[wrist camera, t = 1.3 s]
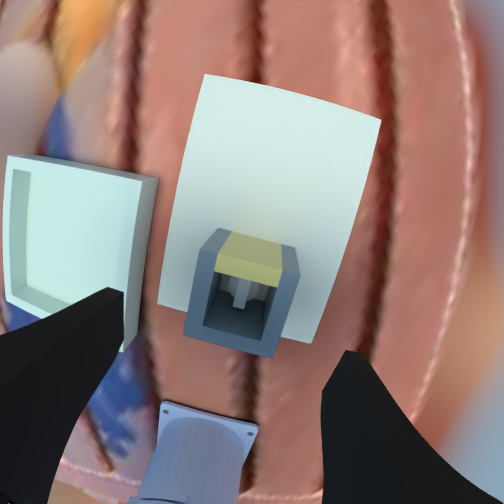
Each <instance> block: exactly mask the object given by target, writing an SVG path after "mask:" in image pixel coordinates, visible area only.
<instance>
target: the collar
mask: <svg viewBox="0 0 504 504" xmlns="http://www.w3.org/2000/svg"><path fill="white" fill-rule="evenodd" d="M222 273H223V274H227V275H231V276H235V277H238V278H242V279H246V280H250V281H254V282H258V283H262V284H265V285H269V288H268V291H267V295H266V298H265V301H261V300H257V299H251V300H248V301H246V303H245V307H244V309H241V308H237V307H233V303H234V299H235V298H234V297H233V296H232V295H231V293H230V292H227V291H223V290H219V285H220V280H221V276H222ZM300 276H301V274H300V269H299V264H298V260H297V255H296V250H295V248H294V247H291V246H287V245H283V244H279V243H275V242H272V241H268V240H264V239H260V238H256V237H253V236H249V235H245V234H241V233H237V232H233V231H229V230H225V229H222V228H217V230H216V231H215V232H214V233H213V234H212V235H211V236H210V238H209V239H208V240H207V241H206V242H205V243H204V244H203V246H202V247H201V248H200V250H199V254H198V259H197V264H196V269H195V274H194V279H193V285H192V290H191V295H190V300H189V306H188V311H187V317H186V322H185V328H184V334H183V335H185V336H188V337H191V338H195V339H198V340H202V341H206V342H209V343H213V344H216V345H220V346H224V347H228V348H232V349H235V350H239V351H243V352H247V353H252V354H256V355H260V356H264V357H268V358H273V357H274V354H275V351H276V348H277V345H278V342H279V339H280V337H281V334H282V331H283V328H284V325H285V322H286V319H287V316H288V313H289V310H290V307H291V304H292V301H293V298H294V295H295V292H296V289H297V285H298V282H299V279H300Z"/></svg>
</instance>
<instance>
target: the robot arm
mask: <svg viewBox="0 0 504 504" xmlns="http://www.w3.org/2000/svg"><path fill="white" fill-rule="evenodd" d="M123 341H124V292H122V291H119V290H116V289H113V288H110V287H106V288H104V289H102V290H99V291H97V292H95V293H93V294H91V295H89V296H88V297H86V298H84V299H82V300H80V301H78V302H76V303H74V304H72V305H70V306H68V307H66V308H64V309H62V310H60V311H58V312H56V313H54V314H52V315H49V316H47V317H45V318H43V319H41V320H38V321H36V322H34V323H32V324H30V325H27V326H25V327H22V328H19V329H17V330H14V331H11V332H8V333H5V334H2V335H0V504H8V503H9V504H47V502H48V498H49V494H50V490H51V486H52V483H53V480H54V477H55V474H56V471H57V468H58V465H59V462H60V459H61V457H62V454H63V452H64V449H65V447H66V444H67V442H68V439H69V437H70V435H71V433H72V430H73V428H74V426H75V424H76V422H77V420H78V418H79V416H80V414H81V412H82V411H83V409H84V407H85V406H86V404H87V403H88V401H89V400H90V398H91V396H92V395H93V393H94V392H95V390H96V389H97V387H98V385H99V384H100V382H101V381H102V379H103V378H104V376H105V375H106V373H107V372H108V370H109V368H110V367H111V365H112V364H113V362H114V360H115V358H116V356H117V354H118V352H119V349H120V347H121V345H122V343H123ZM166 410H167V411H166ZM250 432H252V433H250ZM257 433H258V426H257V425H256V424H253V423H248V422H244V421H239V420H235V419H231V418H226V417H222V416H218V415H214V414H211V413H207V412H203V411H199V410H196V409H192V408H189V407H185V406H182V405H179V404H175V403H172V402H169V401H163V402H162V403H161V406H160V415H159V426H158V437H157V446H156V448H155V451H154V453H153V456H152V458H151V461H150V463H149V466H148V468H147V471H146V473H145V476H144V478H143V481H142V483H141V486H140V488H139V491H138V493H137V496H136V498H134V497H130V498H129V501H128V503H127V504H237V501H238V494H239V486H240V479H241V471H242V466H243V464H244V462H245V460H246V457H247V455H248V453H249V451H250V449H251V446H252V444H253V442H254V439H255V437H256V435H257ZM321 435H322V452H323V471H324V486H323V497H322V504H503V503H502V502H501V501H499V500H497V499H496V498H494V497H492V496H491V495H489V494H487V493H486V492H484V491H482V490H481V489H479V488H478V487H477V486H475V485H474V484H472V483H471V482H470V481H468V480H467V479H466V478H464V477H463V476H462V475H461V474H460V473H458V472H457V471H456V470H455V469H454V468H453V467H451V466H450V465H449V464H448V463H447V462H446V461H445V460H444V459H443V458H442V457H441V456H439V454H437V452H436V451H435V450H434V449H433V448H432V447H431V446H430V445H429V444H428V442H427V441H426V440H425V439H424V438H423V437H422V436H421V435H420V433H418V431H417V430H416V429H415V427H414V426H413V425H412V423H411V422H410V421H409V419H408V418H407V417H406V416H405V414H404V413H403V412H402V410H401V409H400V407H399V406H398V405H397V403H396V402H395V400H394V399H393V397H392V396H391V394H390V393H389V391H388V390H387V388H386V387H385V385H384V384H383V382H382V381H381V379H380V378H379V376H378V375H377V373H376V372H375V370H374V369H373V367H372V366H371V364H370V363H369V361H368V360H367V359H366V357H365V356H364V354H363V353H359V352H353V351H348V350H345V352H344V354H343V356H342V357H341V359H340V361H339V363H338V365H337V366H336V368H335V370H334V372H333V373H332V375H331V377H330V379H329V380H328V382H327V384H326V385H325V387H324V389H323V390H322V401H321Z"/></svg>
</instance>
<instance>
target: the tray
mask: <svg viewBox="0 0 504 504" xmlns="http://www.w3.org/2000/svg"><path fill="white" fill-rule="evenodd" d="M158 183H159V178H154V177H150V176H145V175H140V174H136V173H131V172H126V171H121V170H116V169H111V168H106V167H101V166H95V165H90V164H85V163H79V162H74V161H68V160H63V159H57V158H51V157H45V156H39V155H33V154H26V155H10V156H8V158H7V167H6V177H5V188H4V205H3V265H4V281H5V293H6V301H8V302H10V303H12V304H14V305H16V306H17V307H19V308H21V309H23V310H25V311H27V312H29V313H31V314H33V315H35V316H37V317H40V318H42V319H43V318H45V317H47V316H49V315H52V314H54V313H56V312H58V311H60V310H62V309H64V308H66V307H68V306H70V305H72V304H74V303H76V302H78V301H80V300H82V299H84V298H86V297H88V296H89V295H91V294H93V293H95V292H97V291H99V290H102V289H104V288H106V287H110V288H113V289H116V290H119V291H122V292H124V341H123V343H122V345H121V347H120V349H119V351H120V352H122V353H123V352H124V351H125V349H126V348H127V347H128V345H129V344H130V343H131V341H132V340H133V339H134V338H135V336H136V335H137V333H138V321H139V311H140V301H141V292H142V283H143V275H144V267H145V260H146V253H147V246H148V240H149V233H150V227H151V221H152V215H153V209H154V204H155V198H156V193H157V188H158Z"/></svg>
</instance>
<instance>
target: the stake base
mask: <svg viewBox="0 0 504 504" xmlns="http://www.w3.org/2000/svg"><path fill="white" fill-rule="evenodd" d="M380 123H381V120H380V119H377V118H374V117H372V116H369V115H366V114H363V113H360V112H358V111H355V110H352V109H349V108H346V107H343V106H340V105H336V104H333V103H330V102H327V101H323V100H320V99H316V98H313V97H309V96H306V95H302V94H298V93H295V92H291V91H287V90H283V89H279V88H275V87H270V86H266V85H261V84H257V83H252V82H247V81H242V80H237V79H231V78H226V77H220V76H214V75H208V74H205V76H204V79H203V83H202V87H201V90H200V94H199V97H198V101H197V105H196V109H195V112H194V116H193V120H192V124H191V128H190V132H189V136H188V140H187V144H186V149H185V153H184V157H183V162H182V166H181V171H180V175H179V180H178V185H177V189H176V194H175V199H174V204H173V209H172V215H171V220H170V225H169V231H168V236H167V242H166V248H165V254H164V260H163V266H162V273H161V279H160V286H159V293H158V301H157V304H160V305H164V306H167V307H170V308H174V309H177V310H180V311H184V312H187V311H188V306H189V300H190V295H191V290H192V285H193V279H194V274H195V269H196V264H197V259H198V254H199V250H200V248H201V247H202V246H203V244H204V243H205V242H206V241H207V240H208V239H209V238H210V236H211V235H212V234H213V233H214V232H215V231H216V230H217V228H222V229H225V230H229V231H233V232H237V233H241V234H245V235H249V236H253V237H256V238H260V239H264V240H268V241H272V242H275V243H279V244H283V245H287V246H291V247H294V248H295V250H296V255H297V260H298V264H299V269H300V274H301V276H300V279H299V282H298V285H297V289H296V292H295V295H294V298H293V301H292V304H291V307H290V310H289V313H288V316H287V319H286V322H285V325H284V328H283V331H282V334H281V337H283V338H288V339H292V340H296V341H301V342H305V343H310V344H311V343H312V340H313V338H314V335H315V333H316V330H317V327H318V325H319V322H320V320H321V317H322V314H323V312H324V309H325V306H326V304H327V301H328V298H329V295H330V292H331V290H332V287H333V284H334V281H335V278H336V275H337V273H338V270H339V267H340V264H341V261H342V258H343V255H344V252H345V249H346V246H347V242H348V239H349V236H350V233H351V230H352V227H353V223H354V220H355V217H356V213H357V210H358V207H359V203H360V200H361V196H362V193H363V189H364V186H365V182H366V179H367V175H368V171H369V168H370V164H371V160H372V156H373V152H374V148H375V144H376V140H377V136H378V132H379V128H380ZM268 288H269V285H265V284H262V283H258V282H254V281H250V280H246V279H242V278H238V277H235V276H231V275H227V274H223V273H222V276H221V280H220V285H219V290H223V291H227V292H230V293H231V295H232V296H233V297H234V298H235V299H234V303H233V307H237V308H241V309H244V307H245V303H246V301H248V300H251V299H257V300H261V301H265V298H266V295H267V291H268Z"/></svg>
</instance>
